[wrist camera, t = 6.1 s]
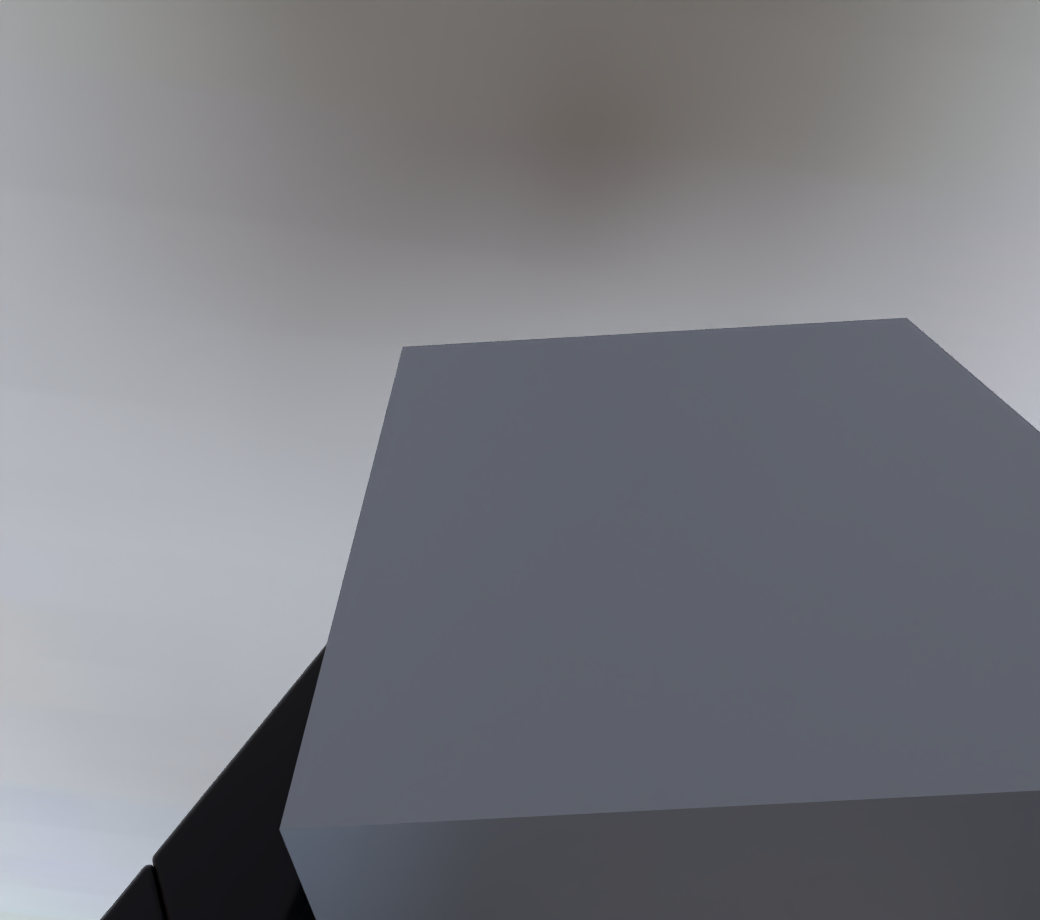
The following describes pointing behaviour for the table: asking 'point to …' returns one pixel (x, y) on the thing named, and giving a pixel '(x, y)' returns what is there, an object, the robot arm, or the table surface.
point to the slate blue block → (684, 638)
